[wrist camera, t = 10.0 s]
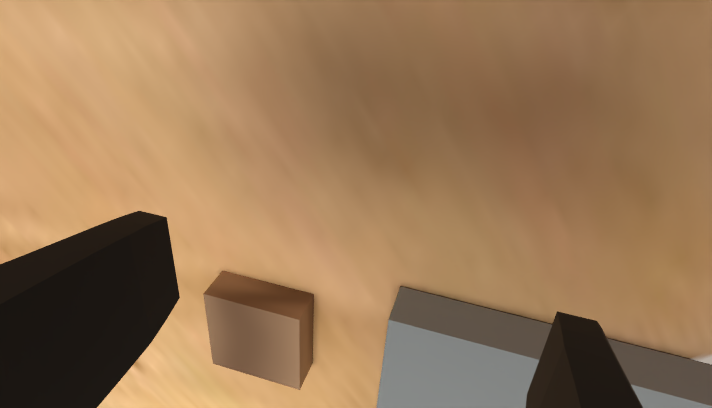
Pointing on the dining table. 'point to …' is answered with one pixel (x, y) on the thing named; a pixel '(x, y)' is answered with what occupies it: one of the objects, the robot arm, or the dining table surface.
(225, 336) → the short block
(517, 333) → the board
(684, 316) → the dining table surface
